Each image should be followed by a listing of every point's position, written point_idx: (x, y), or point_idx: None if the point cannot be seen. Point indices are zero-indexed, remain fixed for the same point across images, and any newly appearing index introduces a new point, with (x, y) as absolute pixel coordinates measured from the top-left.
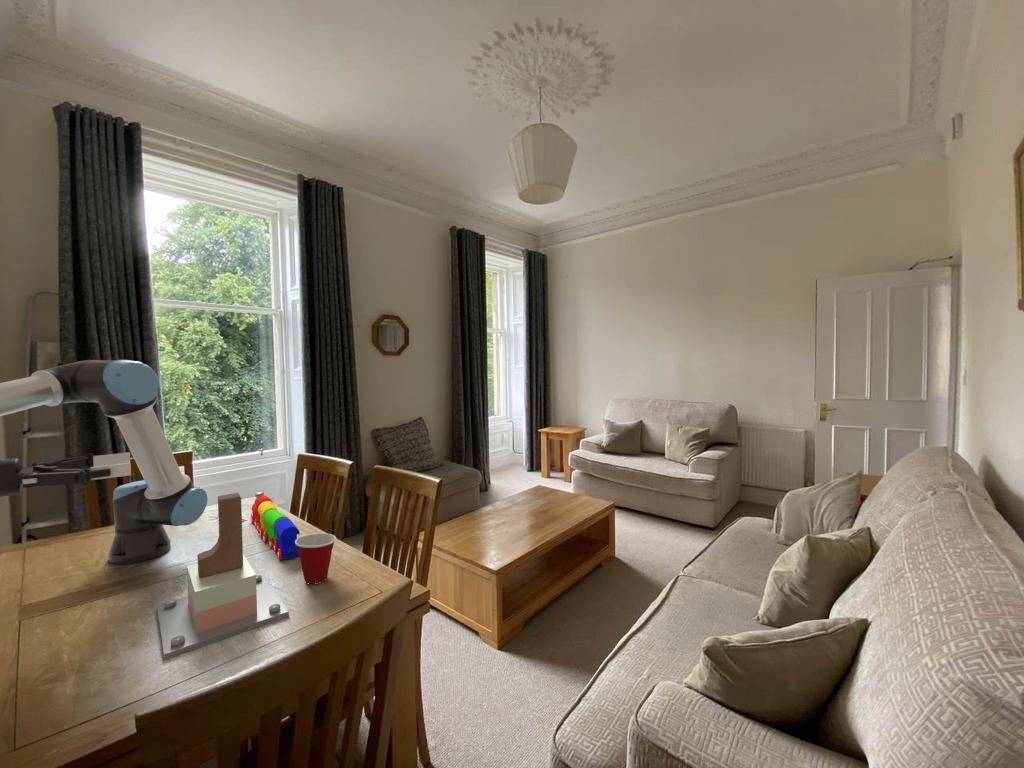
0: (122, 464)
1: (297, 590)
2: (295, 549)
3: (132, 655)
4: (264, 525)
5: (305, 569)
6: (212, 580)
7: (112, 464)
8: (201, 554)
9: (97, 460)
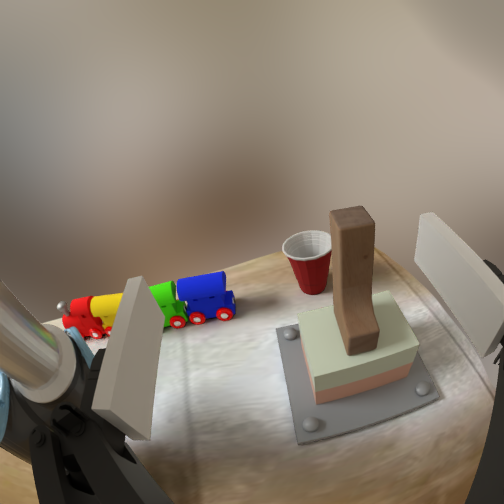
0: (448, 227)
1: (331, 300)
2: (232, 295)
3: (415, 438)
4: None
5: (323, 277)
6: (389, 332)
7: (154, 366)
8: (358, 330)
9: (129, 405)
